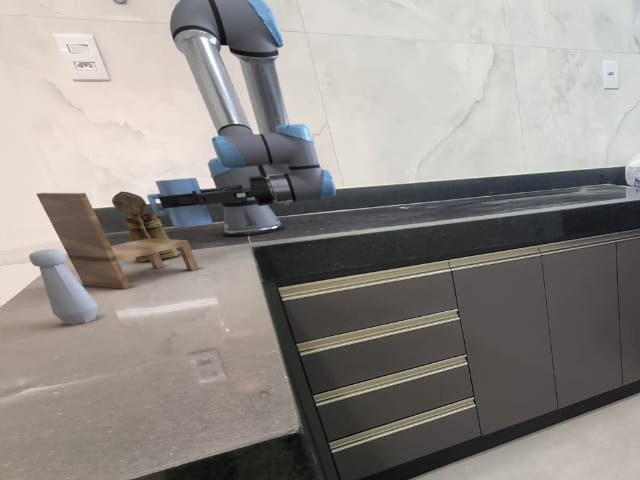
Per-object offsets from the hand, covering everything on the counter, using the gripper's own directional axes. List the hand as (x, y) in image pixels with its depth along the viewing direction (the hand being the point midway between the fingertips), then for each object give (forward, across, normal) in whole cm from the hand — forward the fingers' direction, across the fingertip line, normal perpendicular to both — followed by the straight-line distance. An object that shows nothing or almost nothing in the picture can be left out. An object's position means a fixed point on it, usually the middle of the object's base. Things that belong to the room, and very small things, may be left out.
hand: (162, 200), depth 130 cm
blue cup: (-3, 0, -6) cm, 7 cm away
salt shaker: (+15, -44, -16) cm, 49 cm away
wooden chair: (+8, -11, -15) cm, 21 cm away
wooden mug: (+7, +9, -15) cm, 19 cm away
